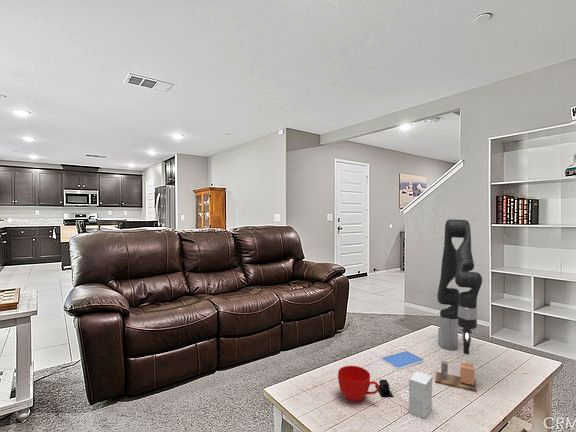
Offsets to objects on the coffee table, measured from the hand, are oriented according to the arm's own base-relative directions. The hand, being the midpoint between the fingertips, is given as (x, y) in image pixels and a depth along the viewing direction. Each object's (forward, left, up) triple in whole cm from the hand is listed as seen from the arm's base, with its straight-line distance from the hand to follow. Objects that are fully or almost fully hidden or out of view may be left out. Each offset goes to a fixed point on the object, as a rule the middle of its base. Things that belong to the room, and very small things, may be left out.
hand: (466, 353), depth 147 cm
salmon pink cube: (+3, -2, -11) cm, 11 cm away
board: (-1, -5, -13) cm, 14 cm away
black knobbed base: (-4, -40, -13) cm, 42 cm away
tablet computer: (-26, -14, -13) cm, 32 cm away
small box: (+11, -34, -13) cm, 38 cm away
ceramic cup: (-3, -53, -13) cm, 55 cm away
